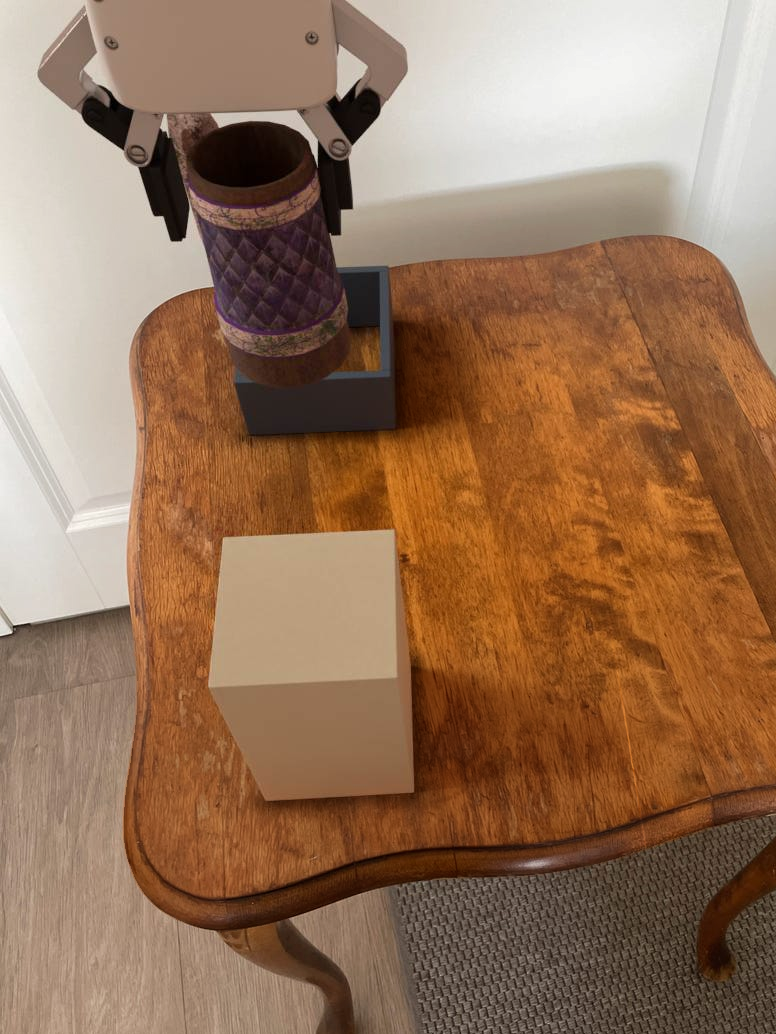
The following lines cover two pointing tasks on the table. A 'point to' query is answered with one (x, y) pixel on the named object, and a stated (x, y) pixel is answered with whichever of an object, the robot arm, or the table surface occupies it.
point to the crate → (335, 375)
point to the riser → (315, 663)
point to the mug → (265, 247)
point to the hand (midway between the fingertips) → (257, 220)
